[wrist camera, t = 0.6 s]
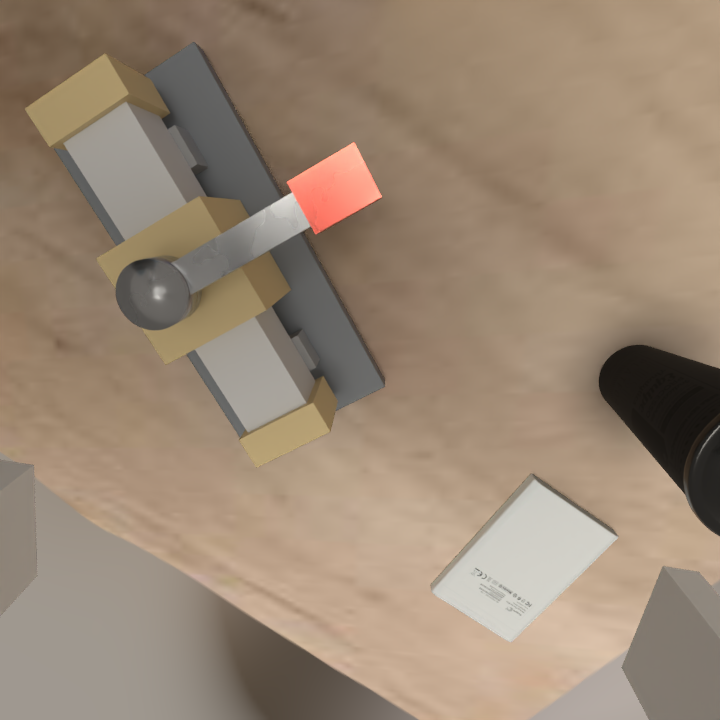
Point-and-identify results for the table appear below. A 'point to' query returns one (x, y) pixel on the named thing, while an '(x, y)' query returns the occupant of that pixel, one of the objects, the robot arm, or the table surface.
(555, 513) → the external hard drive
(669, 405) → the drinking cup
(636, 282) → the table surface
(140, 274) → the lever
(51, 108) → the stand
